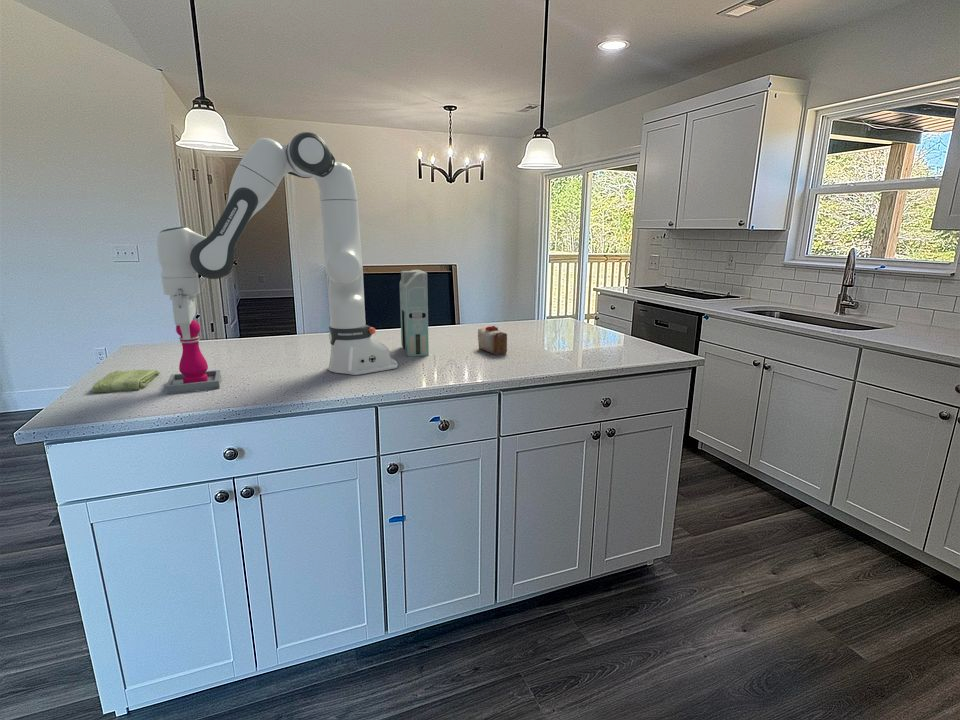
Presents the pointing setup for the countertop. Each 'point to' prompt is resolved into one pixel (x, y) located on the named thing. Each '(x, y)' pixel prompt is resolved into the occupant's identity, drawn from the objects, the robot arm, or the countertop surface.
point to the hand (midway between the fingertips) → (188, 336)
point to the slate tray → (177, 384)
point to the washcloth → (125, 380)
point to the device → (414, 312)
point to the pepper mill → (192, 356)
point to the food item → (492, 340)
